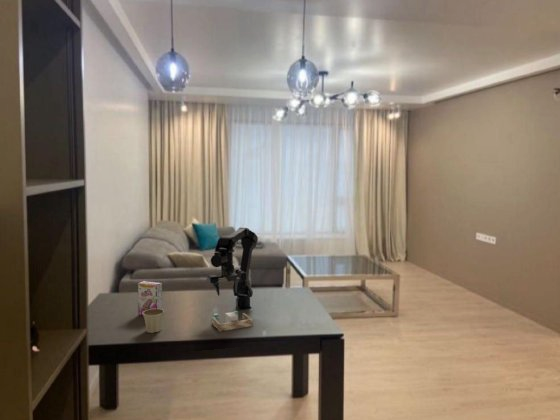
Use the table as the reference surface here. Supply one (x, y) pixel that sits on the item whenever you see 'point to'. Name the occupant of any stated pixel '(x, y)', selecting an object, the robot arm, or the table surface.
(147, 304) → the candy bar box
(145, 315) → the flower pot
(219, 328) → the open wooden frame
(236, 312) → the teal block pair
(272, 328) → the table surface
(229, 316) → the block
